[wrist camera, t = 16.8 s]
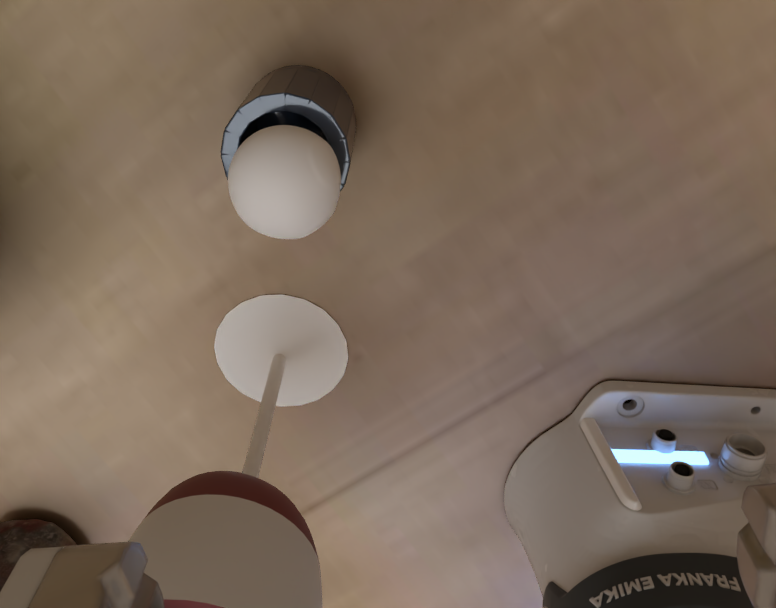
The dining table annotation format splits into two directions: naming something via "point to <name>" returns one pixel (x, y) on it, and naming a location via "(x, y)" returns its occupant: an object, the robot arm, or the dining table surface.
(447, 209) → the dining table surface
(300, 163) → the white ball
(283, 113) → the egg cup
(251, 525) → the wineglass
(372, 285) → the dining table surface
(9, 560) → the dark brown cylinder
